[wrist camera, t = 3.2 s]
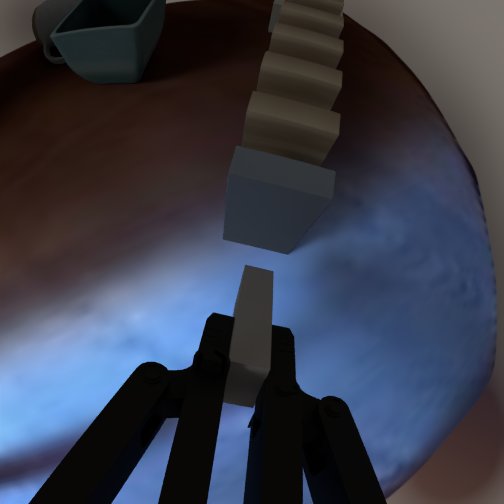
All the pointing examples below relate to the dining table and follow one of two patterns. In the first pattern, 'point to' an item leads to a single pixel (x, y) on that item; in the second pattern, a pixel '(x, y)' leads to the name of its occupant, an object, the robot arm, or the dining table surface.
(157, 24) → the flower pot
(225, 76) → the dining table surface
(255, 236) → the domino
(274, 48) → the domino
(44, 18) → the ceramic mug
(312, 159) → the domino
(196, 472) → the robot arm
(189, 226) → the dining table surface
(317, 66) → the domino
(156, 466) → the dining table surface
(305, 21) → the domino
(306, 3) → the domino
